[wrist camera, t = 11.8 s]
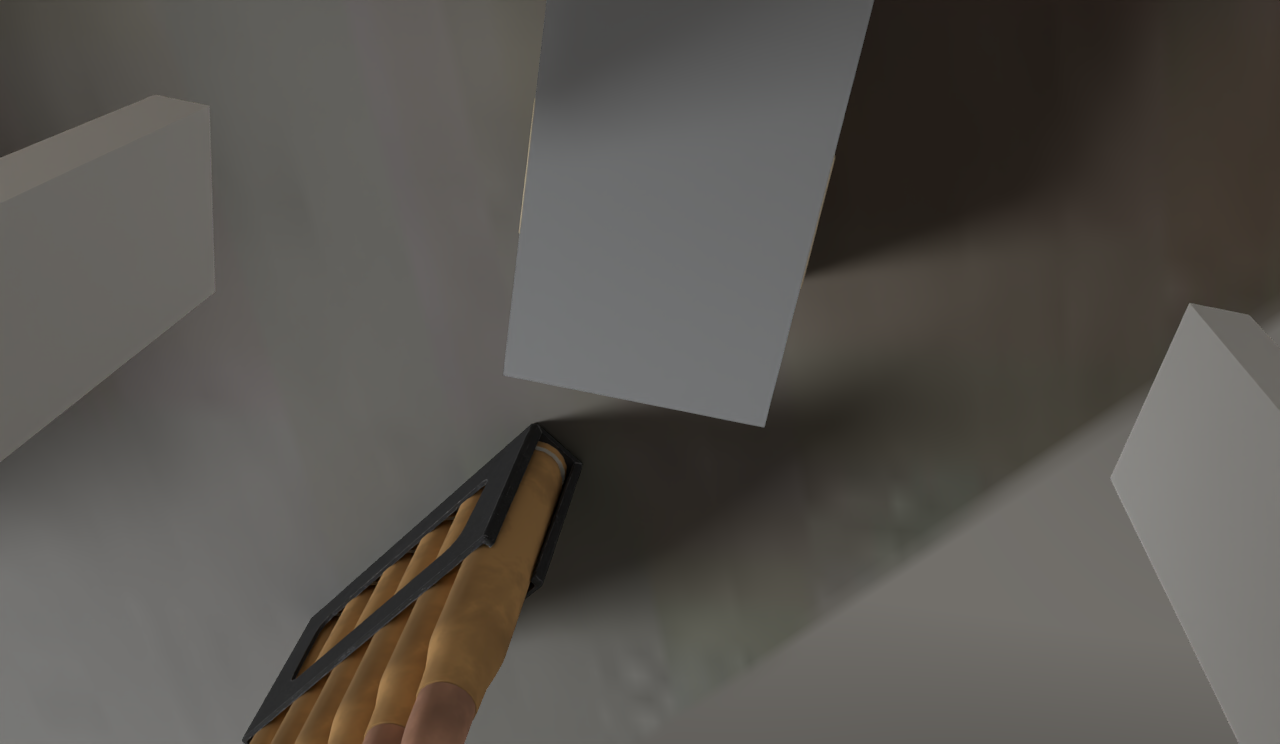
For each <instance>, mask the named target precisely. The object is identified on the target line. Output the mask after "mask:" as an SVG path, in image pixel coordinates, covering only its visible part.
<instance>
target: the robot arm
mask: <svg viewBox="0 0 1280 744" xmlns="http://www.w3.org/2000/svg"><path fill="white" fill-rule="evenodd" d="M213 293H215V264H214V232H213V200H212V168H211V136H210V106H209V105H204V104H199V103H194V102H189V101H184V100H179V99H174V98H169V97H164V96H159V95H152V96H150V97H148V98H145V99H143V100H140V101H138V102H135V103H133V104H130V105H128V106H126V107H123V108H121V109H118V110H116V111H113V112H111V113H108V114H106V115H104V116H101V117H99V118H96V119H94V120H91V121H89V122H86V123H84V124H82V125H79V126H77V127H74V128H72V129H69V130H67V131H64V132H62V133H60V134H57V135H55V136H52V137H50V138H47V139H45V140H42V141H40V142H38V143H35V144H33V145H30V146H28V147H25V148H23V149H20V150H18V151H16V152H13V153H11V154H8V155H6V156H3V157H1V158H0V462H1V461H2V460H4V459H5V458H6V457H7V456H9V455H10V454H11V453H12V452H14V451H15V450H16V449H17V448H19V447H20V446H21V445H23V444H24V443H25V442H26V441H28V440H29V439H30V438H31V437H33V436H34V435H35V434H36V433H38V432H39V431H40V430H41V429H43V428H44V427H45V426H47V425H48V424H49V423H50V422H52V421H53V420H54V419H55V418H57V417H58V416H59V415H60V414H62V413H63V412H64V411H65V410H67V409H68V408H69V407H71V406H72V405H73V404H74V403H76V402H77V401H78V400H79V399H81V398H82V397H83V396H84V395H86V394H87V393H88V392H89V391H91V390H92V389H93V388H95V387H96V386H97V385H98V384H100V383H101V382H102V381H103V380H105V379H106V378H107V377H108V376H110V375H111V374H112V373H113V372H115V371H116V370H117V369H119V368H120V367H121V366H122V365H124V364H125V363H126V362H127V361H129V360H130V359H131V358H132V357H134V356H135V355H136V354H137V353H139V352H140V351H141V350H143V349H144V348H145V347H146V346H148V345H149V344H150V343H151V342H153V341H154V340H155V339H156V338H158V337H159V336H160V335H161V334H163V333H164V332H165V331H167V330H168V329H169V328H170V327H172V326H173V325H174V324H175V323H177V322H178V321H179V320H180V319H182V318H183V317H184V316H185V315H187V314H188V313H189V312H191V311H192V310H193V309H194V308H196V307H197V306H198V305H199V304H201V303H202V302H203V301H204V300H206V299H207V298H208V297H209V296H211V295H212V294H213ZM1110 480H1111V482H1112V484H1113V486H1114V488H1115V490H1116V492H1117V494H1118V496H1119V498H1120V500H1121V502H1122V504H1123V506H1124V509H1125V510H1126V513H1127V515H1128V516H1129V519H1130V521H1131V523H1132V525H1133V527H1134V529H1135V531H1136V533H1137V535H1138V537H1139V539H1140V541H1141V544H1142V546H1143V548H1144V550H1145V552H1146V554H1147V556H1148V558H1149V560H1150V562H1151V564H1152V566H1153V568H1154V570H1155V572H1156V574H1157V576H1158V578H1159V580H1160V582H1161V585H1162V587H1163V589H1164V591H1165V593H1166V595H1167V597H1168V599H1169V601H1170V603H1171V605H1172V607H1173V609H1174V611H1175V613H1176V615H1177V617H1178V620H1179V622H1180V624H1181V626H1182V628H1183V630H1184V632H1185V634H1186V636H1187V638H1188V640H1189V642H1190V644H1191V646H1192V648H1193V650H1194V652H1195V655H1196V657H1197V659H1198V661H1199V663H1200V665H1201V667H1202V669H1203V671H1204V673H1205V675H1206V677H1207V679H1208V681H1209V683H1210V685H1211V687H1212V689H1213V692H1214V694H1215V696H1216V698H1217V700H1218V702H1219V704H1220V706H1221V708H1222V710H1223V712H1224V714H1225V716H1226V718H1227V720H1228V722H1229V725H1230V727H1231V729H1232V730H1233V733H1234V735H1235V737H1236V739H1237V741H1238V743H1239V744H1280V347H1279V346H1278V345H1277V344H1276V343H1275V342H1274V341H1273V340H1272V339H1271V338H1270V337H1269V336H1268V335H1267V334H1266V332H1265V331H1264V330H1263V329H1262V328H1261V327H1260V326H1259V325H1258V324H1257V323H1256V322H1255V321H1254V320H1253V319H1252V318H1251V317H1250V315H1247V314H1242V313H1237V312H1232V311H1227V310H1222V309H1217V308H1212V307H1207V306H1202V305H1197V304H1192V303H1189V305H1188V307H1187V310H1186V312H1185V314H1184V316H1183V318H1182V321H1181V323H1180V325H1179V327H1178V329H1177V332H1176V334H1175V336H1174V338H1173V340H1172V343H1171V345H1170V347H1169V349H1168V351H1167V354H1166V356H1165V358H1164V360H1163V363H1162V365H1161V367H1160V369H1159V371H1158V374H1157V376H1156V378H1155V380H1154V382H1153V385H1152V387H1151V389H1150V391H1149V393H1148V396H1147V398H1146V400H1145V402H1144V404H1143V407H1142V409H1141V411H1140V413H1139V415H1138V418H1137V420H1136V422H1135V424H1134V427H1133V429H1132V431H1131V433H1130V435H1129V438H1128V440H1127V442H1126V444H1125V446H1124V449H1123V451H1122V453H1121V455H1120V458H1119V460H1118V462H1117V464H1116V466H1115V468H1114V471H1113V473H1112V475H1111V477H1110Z"/></svg>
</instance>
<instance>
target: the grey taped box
mask: <svg viewBox="0 0 1280 744" xmlns="http://www.w3.org/2000/svg"><path fill="white" fill-rule="evenodd" d="M873 3H874V0H547V3H546V11H545V20H544V29H543V37H542V46H541V54H540V63H539V72H538V80H537V89H536V97H535V99H534V107H533V115H532V124H531V133H530V141H529V150H528V159H527V167H526V176H525V184H524V193H523V202H522V210H521V219H520V228H519V233H520V235H519V243H518V252H517V261H516V269H515V278H514V286H513V295H512V304H511V312H510V321H509V329H508V338H507V347H506V355H505V364H504V372H503V375H504V376H509V377H514V378H519V379H524V380H529V381H534V382H539V383H544V384H549V385H554V386H559V387H564V388H569V389H574V390H579V391H584V392H589V393H594V394H599V395H604V396H609V397H614V398H619V399H624V400H629V401H634V402H639V403H644V404H649V405H654V406H659V407H664V408H669V409H674V410H679V411H684V412H689V413H694V414H699V415H704V416H709V417H714V418H719V419H724V420H729V421H734V422H739V423H744V424H749V425H754V426H759V427H765V423H766V419H767V415H768V411H769V407H770V403H771V400H772V396H773V392H774V388H775V384H776V380H777V376H778V372H779V368H780V365H781V361H782V357H783V353H784V349H785V345H786V341H787V337H788V333H789V330H790V326H791V322H792V318H793V314H794V310H795V306H796V302H797V298H798V295H799V291H800V288H802V285H803V281H804V277H805V273H806V270H807V266H808V262H809V258H810V254H811V250H812V246H813V242H814V239H815V235H816V231H817V227H818V223H819V219H820V215H821V211H822V207H823V204H824V200H825V196H826V192H827V188H828V184H829V180H830V176H831V173H832V169H833V165H834V161H835V151H836V147H837V143H838V139H839V135H840V131H841V127H842V123H843V120H844V116H845V112H846V108H847V104H848V100H849V96H850V92H851V88H852V84H853V81H854V77H855V73H856V69H857V65H858V61H859V57H860V53H861V49H862V46H863V42H864V38H865V34H866V30H867V26H868V22H869V18H870V14H871V11H872V7H873Z"/></svg>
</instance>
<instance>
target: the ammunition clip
mask: <svg viewBox="0 0 1280 744" xmlns="http://www.w3.org/2000/svg"><path fill="white" fill-rule="evenodd" d="M582 465H583V464H582V463H581V462H580V461H579V460H578V459H576V458H575V457H574V456H573V455H572V454H571V453H570V452H569V451H567V450H566V449H565V448H564V447H563V446H562V445H561V444H560V443H558V442H557V441H556V440H555V439H554V438H553V437H552V436H550V435H549V434H548V433H547V432H546V431H545V430H544V429H543V428H541V427H540V426H539V425H538V424H531V425H530V426H529V427H528V428H526V429H525V430H524V431H523V432H522V433H521V434H520V435H518V436H517V437H516V438H515V439H514V440H513V441H512V442H511V443H509V444H508V445H507V446H506V447H505V448H504V449H503V450H502V451H500V452H499V453H498V454H497V455H496V456H495V457H494V458H492V459H491V460H490V461H489V462H488V463H487V464H486V465H485V466H483V467H482V468H481V469H480V470H479V471H478V472H477V473H475V474H474V475H473V476H472V477H471V478H470V479H469V480H468V481H466V482H465V483H464V484H463V485H462V486H461V487H460V488H458V489H457V490H456V491H455V492H454V493H453V494H452V495H451V496H449V497H448V498H447V499H446V500H445V501H444V502H443V503H441V504H440V505H439V506H438V507H437V508H436V509H435V510H434V511H432V512H431V513H430V514H429V515H428V516H427V517H426V518H424V519H423V520H422V521H421V522H420V523H419V524H418V525H417V526H415V527H414V528H413V529H412V530H411V531H410V532H409V533H407V534H406V535H405V536H404V537H403V538H402V539H401V540H400V541H398V542H397V543H396V544H395V545H394V546H393V547H392V548H390V549H389V550H388V551H387V552H386V553H385V554H384V555H383V556H381V557H380V558H379V559H378V560H377V561H376V562H375V563H373V564H372V565H371V566H370V567H369V568H368V569H367V570H366V571H364V572H363V573H362V574H361V575H360V576H359V577H358V578H356V579H355V580H354V581H353V582H352V583H351V584H350V585H349V586H347V587H346V588H345V589H344V590H343V591H342V592H341V593H339V594H338V595H337V596H336V597H335V598H334V599H333V600H332V601H330V602H329V603H328V604H327V605H326V606H325V607H324V608H322V609H321V610H320V611H319V612H318V613H317V614H316V615H315V616H313V617H312V618H311V620H310V622H309V623H308V625H307V627H306V629H305V630H304V632H303V634H302V636H301V637H300V639H299V641H298V643H297V644H296V646H295V648H294V650H293V651H292V653H291V655H290V657H289V658H288V660H287V662H286V664H285V665H284V667H283V669H282V671H281V672H280V674H279V676H278V677H277V679H276V681H275V683H274V684H273V686H272V688H271V690H270V691H269V693H268V695H267V697H266V698H265V700H264V702H263V704H262V705H261V707H260V709H259V711H258V712H257V714H256V716H255V718H254V719H253V721H252V723H251V725H250V726H249V728H248V730H247V732H246V733H245V735H244V737H243V739H242V741H243V743H245V744H464V742H465V740H466V737H467V734H468V732H469V729H470V726H471V723H472V721H473V719H474V717H475V715H476V713H477V711H478V709H479V706H480V704H481V702H482V699H483V697H484V694H485V692H486V689H487V688H488V686H489V685H490V683H491V682H492V680H493V679H494V677H495V676H496V674H497V672H498V670H499V669H500V667H501V665H502V663H503V661H504V658H505V656H506V653H507V650H508V647H509V644H510V641H511V638H512V635H513V632H514V629H515V626H516V623H517V620H518V617H519V614H520V611H521V608H522V605H523V602H524V599H526V598H527V597H528V596H530V595H531V594H532V593H533V592H535V591H536V590H537V589H538V588H540V587H541V586H542V584H543V582H544V579H545V576H546V573H547V570H548V567H549V564H550V561H551V558H552V555H553V552H554V549H555V546H556V543H557V540H558V537H559V535H560V532H561V529H562V526H563V523H564V520H565V517H566V514H567V511H568V508H569V505H570V502H571V499H572V496H573V493H574V490H575V487H576V484H577V481H578V478H579V475H580V472H581V469H582Z"/></svg>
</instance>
